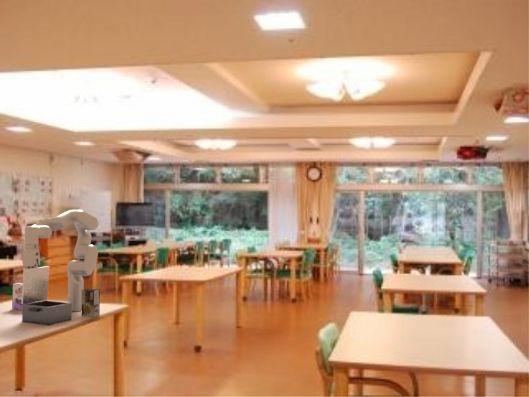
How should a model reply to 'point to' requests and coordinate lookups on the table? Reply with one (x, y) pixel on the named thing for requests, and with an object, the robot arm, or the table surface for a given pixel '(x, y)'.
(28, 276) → the lid
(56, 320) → the grey storage box
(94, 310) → the coffee box
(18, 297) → the candy box
